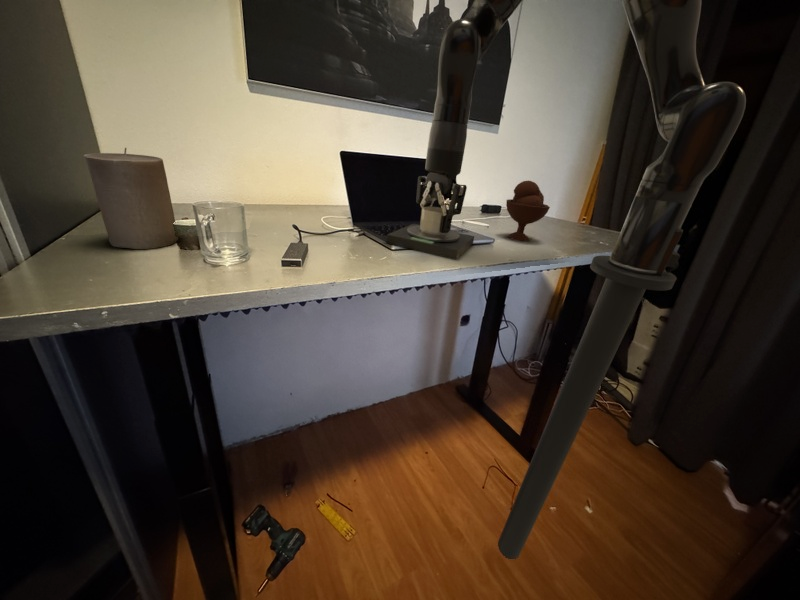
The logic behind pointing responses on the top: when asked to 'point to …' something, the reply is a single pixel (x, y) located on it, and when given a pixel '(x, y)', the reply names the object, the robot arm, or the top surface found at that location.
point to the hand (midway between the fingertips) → (433, 228)
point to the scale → (430, 243)
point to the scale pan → (419, 234)
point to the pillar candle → (133, 199)
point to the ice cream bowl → (526, 207)
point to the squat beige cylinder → (431, 220)
